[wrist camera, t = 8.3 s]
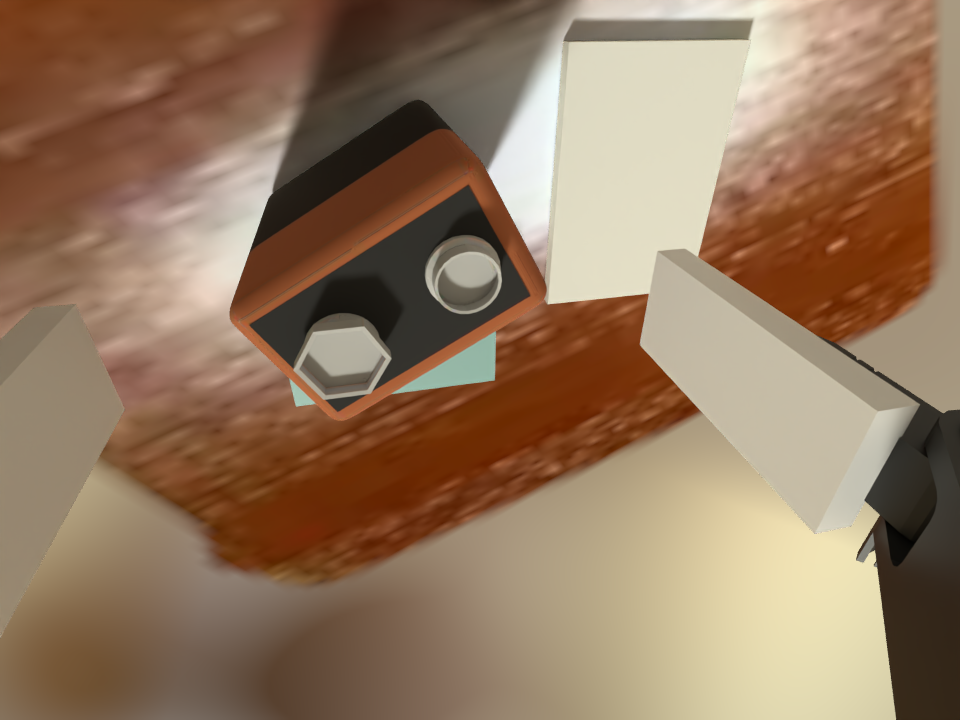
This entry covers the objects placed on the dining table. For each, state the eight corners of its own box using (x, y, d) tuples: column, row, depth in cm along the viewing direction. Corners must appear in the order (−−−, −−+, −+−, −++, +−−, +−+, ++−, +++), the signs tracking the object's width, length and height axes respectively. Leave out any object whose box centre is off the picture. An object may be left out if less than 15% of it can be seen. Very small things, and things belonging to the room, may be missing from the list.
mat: (563, 41, 18) (569, 42, 18) (740, 39, 20) (751, 40, 19) (543, 298, 24) (547, 304, 24) (683, 283, 25) (689, 289, 25)
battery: (262, 197, 19) (206, 338, 11) (420, 91, 18) (487, 158, 10) (337, 287, 22) (338, 456, 13) (479, 197, 21) (571, 318, 13)
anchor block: (289, 313, 22) (283, 352, 19) (479, 294, 23) (495, 328, 21) (300, 364, 23) (296, 406, 21) (479, 343, 25) (494, 380, 22)
